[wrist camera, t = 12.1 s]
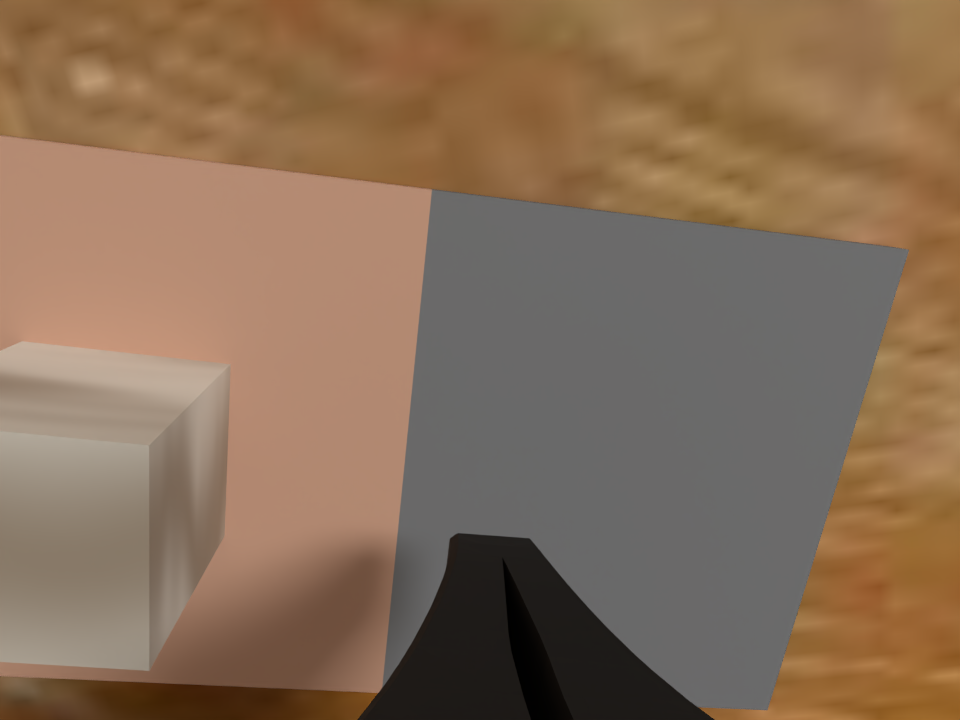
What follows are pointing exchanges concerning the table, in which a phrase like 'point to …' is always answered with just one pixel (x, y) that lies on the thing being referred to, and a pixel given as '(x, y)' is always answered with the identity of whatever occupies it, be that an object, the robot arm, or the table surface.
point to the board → (462, 402)
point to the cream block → (105, 500)
